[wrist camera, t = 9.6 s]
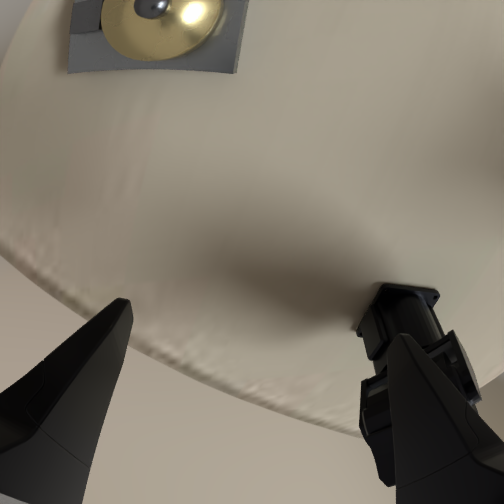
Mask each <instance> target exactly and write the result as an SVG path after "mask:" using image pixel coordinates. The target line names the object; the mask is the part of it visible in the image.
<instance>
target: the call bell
mask: <svg viewBox="0 0 504 504" xmlns="http://www.w3.org/2000/svg"><path fill="white" fill-rule="evenodd" d="M248 2H249V0H75V3H74V4H73V10H72V17H71V25H70V44H69V57H68V74H70V73H79V72H90V71H103V70H122V69H174V70H194V71H208V72H219V73H229V74H234V73H237V67H238V61H239V54H240V48H241V42H242V36H243V30H244V25H245V19H246V13H247V8H248Z"/></svg>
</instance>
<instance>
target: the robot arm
mask: <svg viewBox="0 0 504 504" xmlns="http://www.w3.org/2000/svg"><path fill="white" fill-rule="evenodd" d="M385 290H386V291H385ZM439 297H440V294H439V292H438V291H437V290H429V289H422V288H414V287H406V286H399V285H391V284H385V285H383V286H381V288H380V289H379V291H378V293H377V295H376V297H375V299H374V301H373V302H372V304H371V305H370V307H369V308H368V310H367V312H366V314H365V315H364V317H363V319H362V321H361V323H360V325H359V327H358V329H357V331H356V333H357V336H358V337H362V338H363V340H364V344H365V348H366V353H367V357H368V359H369V360H370V361H373V364H374V369H375V373H376V375H375V376H373V377H371V378H369V379H368V378H367V379H365V380H363V381H361V398H360V418H359V428H360V430H361V433H362V435H363V437H364V439H365V441H366V442H367V444H368V445H369V446H370V448H371V451H372V453H373V456H374V459H375V462H376V466H377V471H378V475H379V479H380V480H381V481H382V482H383V483H384V484H385V485H386V486H387V487H391V486H394V485H396V504H504V442H503V441H502V440H501V439H500V438H499V437H498V436H497V434H496V433H495V432H494V431H493V430H492V429H491V428H490V427H489V426H488V425H487V424H486V423H485V422H484V420H483V419H481V417H480V416H479V414H478V411H477V408H476V405H475V404H476V403H478V402H479V401H481V400H482V398H481V395H480V391H479V387H478V383H477V380H476V377H475V373H474V371H473V368H472V366H471V363H470V361H469V359H468V356H467V354H466V352H465V350H464V348H463V346H462V344H461V343H460V341H459V339H458V337H457V336H456V334H455V332H454V330H451V331H450V332H448V333H447V335H445V334H444V332H443V330H442V328H441V325H440V323H439V321H438V319H437V317H436V314H435V312H434V310H433V307H434V305H435V304H436V302H437V301H438V299H439ZM132 325H133V312H132V307H131V302H130V300H128V299H124V298H117V299H115V300H114V301H113V302H111V303H110V304H109V305H108V306H106V307H105V308H104V309H103V310H102V311H100V312H99V313H98V314H97V315H95V316H94V317H93V318H92V319H91V320H89V321H88V322H87V323H86V324H85V325H83V326H82V327H81V328H80V329H79V330H77V331H76V332H75V333H74V334H73V335H71V336H70V337H69V338H68V339H67V340H65V341H64V342H63V343H62V344H61V345H59V346H58V347H57V348H56V349H55V350H54V351H52V352H51V353H50V354H49V355H48V356H47V357H46V358H44V361H41V362H40V363H39V364H38V365H37V366H35V367H34V368H33V369H32V370H30V371H29V372H28V373H27V374H26V375H25V376H23V377H22V378H20V379H19V380H18V381H17V382H15V383H14V384H12V385H11V386H10V387H8V388H7V389H6V390H4V391H3V392H1V393H0V504H82V501H83V496H84V493H85V489H86V484H87V480H88V476H89V472H90V467H91V464H92V461H93V457H94V453H95V450H96V446H97V443H98V439H99V436H100V433H101V429H102V426H103V423H104V419H105V416H106V413H107V410H108V406H109V404H110V401H111V397H112V394H113V391H114V388H115V385H116V382H117V380H118V377H119V374H120V371H121V368H122V365H123V361H124V357H125V353H126V349H127V345H128V341H129V337H130V333H131V329H132Z"/></svg>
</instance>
